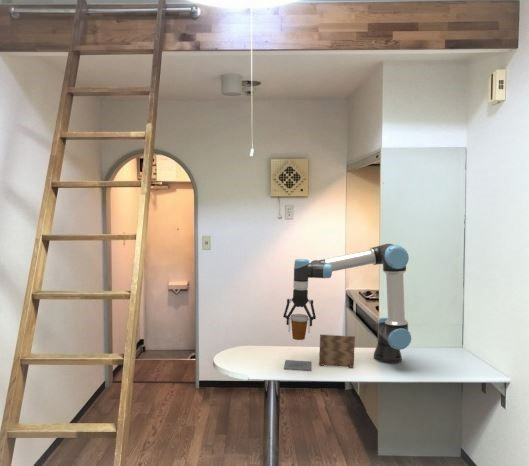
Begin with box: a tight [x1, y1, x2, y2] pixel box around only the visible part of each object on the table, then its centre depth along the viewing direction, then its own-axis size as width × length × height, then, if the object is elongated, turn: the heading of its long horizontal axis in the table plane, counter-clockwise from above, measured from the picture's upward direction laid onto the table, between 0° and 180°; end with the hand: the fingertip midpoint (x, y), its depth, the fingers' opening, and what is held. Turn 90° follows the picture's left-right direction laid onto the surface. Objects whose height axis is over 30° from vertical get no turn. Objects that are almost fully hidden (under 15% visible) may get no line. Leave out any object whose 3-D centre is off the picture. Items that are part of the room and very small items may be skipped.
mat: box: [283, 359, 312, 372], centre depth 254 cm, size 14×14×1 cm
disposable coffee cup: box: [289, 313, 309, 341], centre depth 253 cm, size 10×10×12 cm
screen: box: [318, 334, 356, 369], centre depth 256 cm, size 18×5×16 cm, turn 84°
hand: (298, 331), depth 253 cm, fingers closed on disposable coffee cup, 9 cm apart
